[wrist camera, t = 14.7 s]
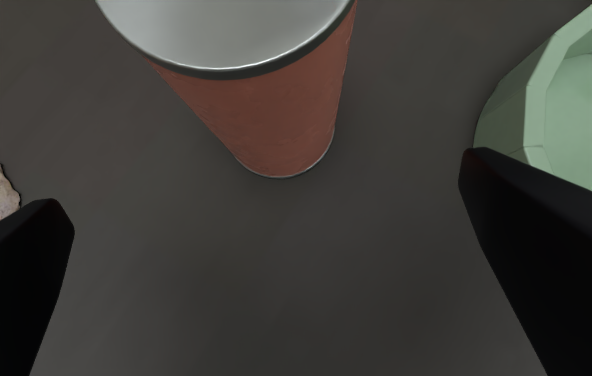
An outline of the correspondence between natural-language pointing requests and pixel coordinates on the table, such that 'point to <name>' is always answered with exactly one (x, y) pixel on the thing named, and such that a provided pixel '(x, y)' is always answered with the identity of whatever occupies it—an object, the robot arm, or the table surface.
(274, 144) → the reddish translucent cylinder
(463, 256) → the table surface
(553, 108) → the pot
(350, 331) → the table surface
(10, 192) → the brown flat tapered piece
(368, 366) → the table surface
